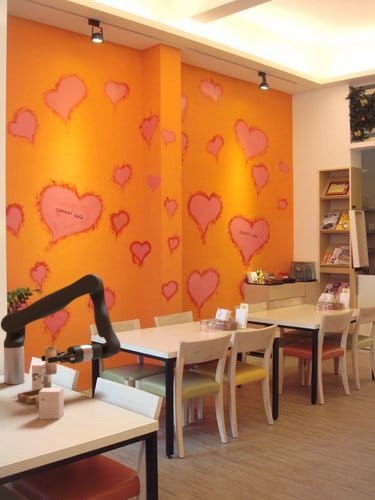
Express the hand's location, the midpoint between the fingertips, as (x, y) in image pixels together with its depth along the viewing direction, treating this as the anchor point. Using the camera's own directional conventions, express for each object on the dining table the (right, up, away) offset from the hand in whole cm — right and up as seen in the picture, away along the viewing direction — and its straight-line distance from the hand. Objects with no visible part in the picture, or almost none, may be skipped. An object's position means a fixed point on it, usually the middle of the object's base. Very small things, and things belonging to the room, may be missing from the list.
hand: (45, 359), depth 235 cm
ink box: (-7, -18, +21) cm, 29 cm away
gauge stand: (+2, -18, -6) cm, 19 cm away
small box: (+8, -18, -20) cm, 28 cm away
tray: (-5, -18, +4) cm, 19 cm away
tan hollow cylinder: (+2, -6, +2) cm, 7 cm away
